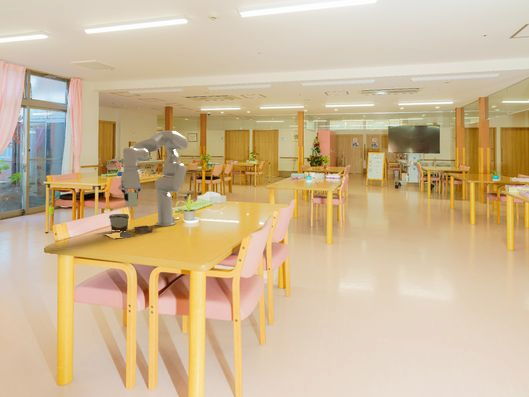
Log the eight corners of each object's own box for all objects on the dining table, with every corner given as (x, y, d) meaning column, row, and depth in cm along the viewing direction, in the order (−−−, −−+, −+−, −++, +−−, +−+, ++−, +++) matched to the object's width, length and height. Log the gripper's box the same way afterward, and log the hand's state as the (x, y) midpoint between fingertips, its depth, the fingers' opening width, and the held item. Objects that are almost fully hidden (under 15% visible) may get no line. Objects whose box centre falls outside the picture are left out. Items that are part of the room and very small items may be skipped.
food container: (133, 229, 244) (132, 213, 242) (128, 231, 238) (128, 215, 236) (114, 229, 245) (113, 213, 244) (109, 231, 239) (108, 215, 238)
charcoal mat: (123, 232, 236) (123, 231, 236) (134, 236, 225) (134, 235, 225) (103, 234, 228) (103, 234, 228) (114, 239, 217) (114, 238, 217)
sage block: (133, 205, 233) (133, 192, 232) (137, 206, 230) (137, 192, 229) (125, 206, 230) (125, 192, 229) (129, 206, 226) (128, 193, 225)
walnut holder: (146, 230, 242) (146, 225, 242) (152, 232, 236) (152, 227, 236) (134, 231, 237) (134, 227, 237) (140, 233, 231) (139, 228, 231)
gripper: (141, 169, 236) (141, 199, 238) (113, 169, 225) (114, 200, 226) (147, 169, 231) (147, 200, 233) (118, 169, 219) (119, 201, 221)
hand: (131, 200), depth 229 cm, fingers closed on sage block, 5 cm apart
